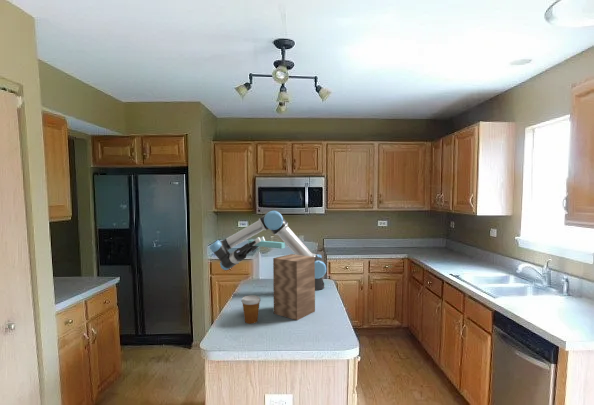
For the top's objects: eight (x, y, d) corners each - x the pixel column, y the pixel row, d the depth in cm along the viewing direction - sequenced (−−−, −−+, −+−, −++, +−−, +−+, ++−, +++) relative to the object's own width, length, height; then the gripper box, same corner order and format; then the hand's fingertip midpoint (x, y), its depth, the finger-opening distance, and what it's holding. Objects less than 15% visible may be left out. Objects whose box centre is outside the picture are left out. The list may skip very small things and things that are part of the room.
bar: (248, 245, 193) (248, 240, 193) (252, 244, 195) (251, 239, 195) (281, 248, 177) (281, 243, 177) (285, 247, 179) (285, 242, 179)
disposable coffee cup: (245, 326, 156) (245, 301, 156) (239, 320, 165) (239, 296, 165) (263, 322, 161) (263, 298, 161) (256, 316, 169) (256, 294, 169)
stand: (273, 313, 174) (273, 258, 173) (292, 305, 186) (291, 254, 186) (297, 320, 164) (296, 261, 164) (315, 311, 177) (314, 256, 176)
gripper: (249, 259, 206) (273, 243, 193) (230, 263, 193) (254, 246, 181) (245, 248, 208) (268, 231, 196) (226, 251, 195) (249, 234, 183)
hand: (261, 238), depth 188 cm, fingers closed on bar, 3 cm apart
